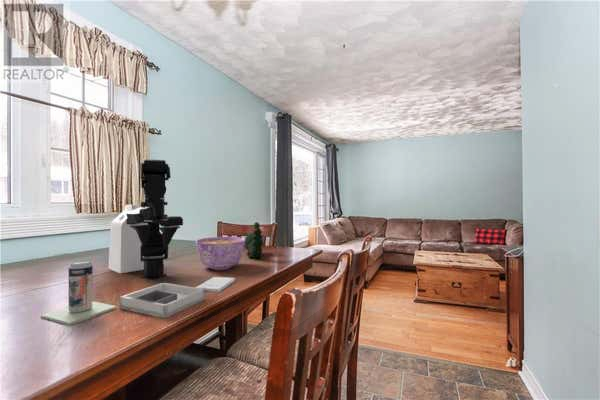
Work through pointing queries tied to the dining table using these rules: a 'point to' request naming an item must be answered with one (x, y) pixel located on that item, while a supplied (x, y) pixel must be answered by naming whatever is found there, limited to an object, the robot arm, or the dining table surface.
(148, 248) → the robot arm
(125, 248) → the milk
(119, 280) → the dining table surface
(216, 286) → the external hard drive
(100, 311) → the sage mat
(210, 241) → the bowl of food
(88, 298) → the beer can
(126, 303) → the shallow light grey tray
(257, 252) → the toy figurine
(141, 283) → the dining table surface
